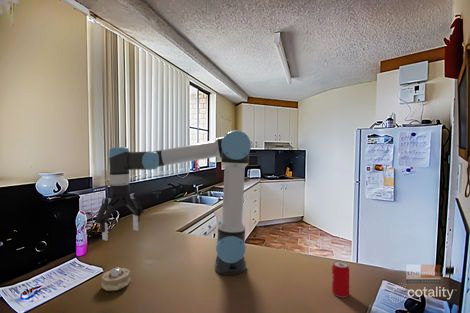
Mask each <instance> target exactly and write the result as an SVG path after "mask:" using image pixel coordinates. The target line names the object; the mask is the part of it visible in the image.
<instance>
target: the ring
mask: <svg viewBox="0 0 470 313" xmlns="http://www.w3.org/2000/svg"><path fill="white" fill-rule="evenodd" d="M120 268H121V267H120ZM111 270H112V269H110V270H108V271H106V272H104V273H103V275H102V276H101V289H103V290H105V291H106V292H111V291H110V290H118V291H120V290H122V289H124V288H125V287H126V286H128V285H129V283H130V282H131V270H130V269H128V268H126V267H122V268H121V276H119V277H117V278H111ZM123 287H124V288H123ZM121 288H122V289H121ZM119 289H120V290H119Z"/></svg>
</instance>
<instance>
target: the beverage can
mask: <svg viewBox="0 0 470 313" xmlns="http://www.w3.org/2000/svg"><path fill="white" fill-rule="evenodd" d="M331 271H332V272H331V291H332V293H333V295H334V296H336V297H338V298H343V299H344V298H347V297H348V296H350V267H349V265H348V263H347V262H344V261H341V260H336V261H334V262H333V263H332V266H331Z"/></svg>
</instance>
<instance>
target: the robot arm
mask: <svg viewBox="0 0 470 313" xmlns="http://www.w3.org/2000/svg"><path fill="white" fill-rule="evenodd" d="M251 147H252V143H251V140H250V137H249V136H248V135H247V134H246V133H245V132H243V131H241V130H231V131H228V132H227V133H226V134H225V135H224V136H222V137H216V138H215V140H211V141H207V142H205V141H204V142H200V143H194V144H188V145H182V146H178V147H173V148H172V147H171V148H165V149H160V150H153V151H149V150H148V151H130V150H129V147H126V146H125V147H123V146H122V147H118V146H115V147H111V148H110V149H109V152H108V161H109V162H108V165H109V184H110V185H109V194H110V197H103V198H102V202H101V205H100V207H99V210H98V213H97V214H96V217H95V219H94V221H93V222H94V223H95V224H97V225H99V232H101V234H102V235H101V236H102V237H101V238H102V241H108V240H109V234H108V233H109V232H108V231H109V230H108V223H107V221H108V220H109V219H110V217H111V215H112V214H113V212H114V210H116V209H117V208H121V207H127V208H128V209H129V210H130V211H131V212H132V213H133V215H132V230H133V231H136V232H138V231H139V223H140V217H141V215H142V214H143V213H144V209H143V207H142V205H141V203H140V202H139V200H138V195H137V193H133V192H132V193H131V194H130V192H131V186H130V185H131V184H130V182H131V181H130V179H131V178H130V171H133V170H136V171H137V170H139V171H140V170H141V171H142V170H146V171H151V170H157V169H158V168H159V167H164V166H169V165H176V164H181V163H183V164H184V163H188V162H193V161H200V160H206V159H210V158H217V157H218V158H219V159H220V160H221V162H220V163H221V164H222V165H223V166H224V172H223V194H222V212H221V214H222V215H221V220H219V221H218V225H217V238H216V240H217V242H216V246H215V247H216V248H215V250H216V253H217V254H216V258H215V262H214V270H215V271H216V272H217V273H218V274H220V275H223V276H237V275H240V274H242V273H244V272H245V271H246V269H247V262H246V259H245V254H246V249H247V248H246V242H245V240H246V226H245V225H244V224H243V212H244V193H245V192H244V191H245V190H244V189H245V173H246V172H245V171H246V169H245V168H246V167H247V166H248V165H249V163H250V162H249V161H250V151H251ZM130 199H131V201H132V202H131V201H130ZM132 203H133V204H132Z"/></svg>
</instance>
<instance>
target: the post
mask: <svg viewBox="0 0 470 313" xmlns="http://www.w3.org/2000/svg"><path fill="white" fill-rule="evenodd" d="M110 270H111V278H117V277H119V276H121V267H119V266H118V267H113V268H112V269H110ZM124 288H125V287H123V288H121V289H119V290H110V291H109V292H117V291H120V290H123V289H124Z"/></svg>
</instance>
